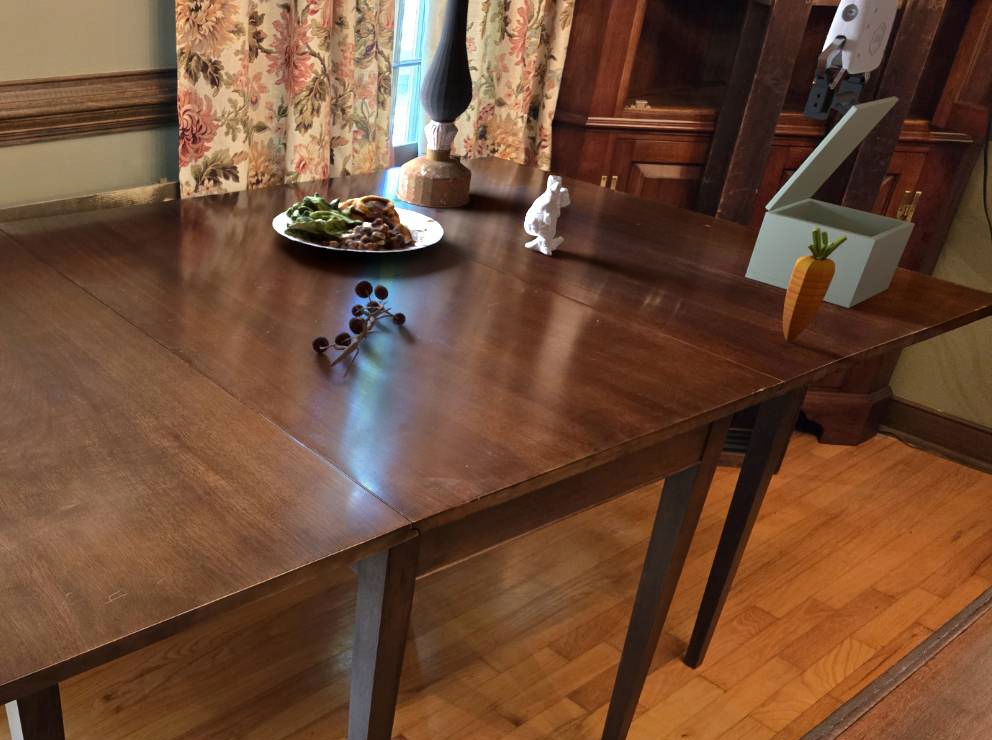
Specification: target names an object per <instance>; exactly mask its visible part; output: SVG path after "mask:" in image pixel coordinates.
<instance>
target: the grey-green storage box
mask: <svg viewBox="0 0 992 740" xmlns="http://www.w3.org/2000/svg"><path fill="white" fill-rule="evenodd" d="M915 225H916V224H915V223H914V222H910V221H907V220H902V219H897V218H893V217H889V216H885V215H881V214H876V213H872V212H868V211H864V210H860V209H855V208H851V207H847V206H842V205H838V204H834V203H830V202H826V201H822V200H818V199H814V198H811V197H809V198H806V199H803V200H800V201H797V202H793V203H790V204H787V205H784V206H781V207H778V208H775V209H772V210H768V211H765V214H764V217H763V221H762V224H761V227H760V229H759V231H758V236H757V238H756V241H755V245H754V248H753V251H752V254H751V257H750V260H749V263H748V266H747V269H746V274H745V276H744V277H745V278H747V279H750V280H754V281H757V282H759V283H764V284H767V285H770V286H773V287H776V288H780V289H783V290H787V289H788V286H789V282H790V279H791V276H792V273H793V270H794V267H795V264H796V262H797V260H798V259H799V258H800V257H802V256H806V255H813V254H812V252H811V251H810V249H809V248H808V245H809V244H812V245H814V243H813V237H812V231H813V230H814V229H815V228H820V231H821V233H822V232H827V235H828V244H830V243H831V242H833V243H834V242H835V240H837V239H838V238H839V237H841V236H842V235H844V236H846V238H847V240H846V241H845V242H843V243H842V244H841V245H840V246H839V247H837V248H836V249H835V250H834V251H833V252H832V253H831V254H830V255H829V256H828V257H827V258H828V259H831V260H832V261H834V263H835V273H834V276H833V279H832V281H831V283H830V286H829V288H828V291H827V293H826V295H825V297H824V299H823V302H827V303H829V304H834V305H836V306H839V307H842V308H846V309H850V308H852V307H854V306H856V305H858V304H860V303H861V302H862V303H863V302H864V301H866V300H869V299H870V298H873V297H874V296H876V295H878V294H881V293H882V292H884V291H887V290H888V289H889V287H890V285H891V282H892V280H893V278H894V276H895V273H896V271H897V268H898V265H899V263H900V261H901V258H902V256H903V253H904V251H905V249H906V246H907V244H908V242H909V239H910V236H911V235H912V232H913V229H914V227H915ZM821 246H822V235H821Z"/></svg>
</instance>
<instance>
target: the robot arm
mask: <svg viewBox="0 0 992 740" xmlns="http://www.w3.org/2000/svg"><path fill="white" fill-rule="evenodd" d="M899 2H900V0H840V3H839V5H838V7H837V9H836V12H835V15H834V17H833V21H832V23H831V26H830V28H829V31H828V33H827V35H826V39H825V42H824V45H823V49H822V51H821V53H820V54H819V56H818V59H817V68H816V69H815V70H814V78H813V80H812V84H811V86H812V87H811V90H810V92H809V95H808V100H807V102H806V105H805V107H804V111H803V116H804V117H805V118H810V119H816V120H821V121H825V120H827V119H828V117H829V114H830V111H831V109H832V108H831V106H832V103H833V100H834V97H835V94H837V91H838V93H842V92H846V91H853V92H854V93H855V95H856V98H855V100H856V101H858V102H859V103H860V104H861V101H862V98H863V96H864V92H865V90H866V86H867V83H868V82H869V80H870V77H871V72H872V71H874V70H876V69H878V68H879V66H880V65H881V62H882V60H883V57H884V54H885V51H886V46H887V44H888V41H889V39H890V35H891V32H892V29H893V26H894V21H895V19H896V15H897V10H898V6H899ZM845 72H846V75H845V76H846V77H845V78H846V79H842V81H841V84H840V87H839V90H838V89H837V88H835V87H836V86H837V84H838V83H839V81H840V79H841V78H842V77H843V75H844V74H845ZM833 74H834V75H833ZM844 106H845V107H846V108H847V109H848V110H850V109H851V108H852V107H853V106H851V105H850V104H848V105H844ZM833 110H834V111H838V110H837V109H836V108H833Z"/></svg>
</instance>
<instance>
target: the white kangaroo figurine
mask: <svg viewBox="0 0 992 740" xmlns="http://www.w3.org/2000/svg"><path fill="white" fill-rule="evenodd" d="M562 180H563V179H562V176H557V175H553V174H550V175H549V176H548V179H547V188H546V191H545V192H544V193H543V194H542V195H541V196H539V197H538V198H537V199H536V200H535V201H534V202H533V204H532V206H531V207H530V208H529V209H528V211H527V213H526V216H525V221H524V229H525V232H526V233H527V234H529V235H531V236H535V237H536V236H537V237H536V239H534V240H532V241H529V242H526V243H525V248H527V249H530V250H534V251H538V252H540V253H543V254H544V255H546V256H552V254H553V253H552V251H556V250H557V249H558V247H559V246H560V245H561V244H562V243H563V242H565V238H564V237H563V236H558V237H555V236H556V233H557V229H556V228H557V222H558V218H560V216H561V208H566V207H569V206H570V204H571V199H570V193H569V188H565V187H563V181H562Z"/></svg>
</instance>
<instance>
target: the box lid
mask: <svg viewBox="0 0 992 740" xmlns="http://www.w3.org/2000/svg"><path fill="white" fill-rule="evenodd" d="M855 98H856V95H855V93H854V92H853V91H846V92H842V93H839V92H836V94H835V97H834V100H833V103H832V106H831V109H834V108H836V109H837V110H836V111H838V112H839V113H840V114H841V115H843V117H842V118H841V119H840V120H839V122H838V123H836V125H835V126H834V127H833V128H832V129H831V130H830V132H829V133H828V134H827V135H826V137H825V138H824V139H823V140H822V141H821V142H820V143H819V145H818V146H817V147H816V148H815V149H814V151H812V153H810V155H809V156H808V157H807V158H806V160H805V161H804V162H803V163H802V164H801V165H800V166H799V168H798V169H797V170H796V171H795V172H794V173H793V174H792V176H791V177H790V178H789V179H788V181H786V182H785V184H784V185H783V186H782V187H781V188H780V190H779V191H778V192H777V193H776V194H775V195H774V196H773V197H772V199H771V200H770V201H769V202H768V203H767V204H766V206H765V209H766V210H768V211H772V210H775V209H778V208H781V207H784V206H787V205H790V204H793V203H796V202H799V201H802V200H805V199H808V198H811V197H813V195H814V194H815V193H816V192H817V191H818V190H819V189H820V188H821V186H823V184H824V183H825V182H826V181H827V180H828V179H829V178H830V177H831V175H832V174H833V173H834V172H835V171H836V170H837V169H838V168H839V167H840V166H841V164H842V163H843V162H844V161H846V159H847V158H848V157H849V156H850V154H851V153H852V152H853V151H854V150H855V149H856V148H857V147H858V146H859V145H860V144H861V142H862V141H863V140H864V139H865V138H866V137H867V136H868V135H869V134H870V133H871V131H872V130H873V129H874V128H875V127H876V126H877V125H878V124H879V123H880V121H882V119H883V118H884V117H885V116H886V115H887V113H888V112H889V111H891V109H892V108H893V107H894V106H895V105H896V104H897V103H898V102H899V100H900V99H899V98H898V97H897V96H896V95H894V96H890V97H884V98H880V99H877V100H872V101H868V102H864V103H861V102H860V103H859V102H858V101H856V100H855ZM848 104H850V105H851V106H853V107H852V108H851V109H850V110H848V109H847V108H846V107H845V106H844V105H848Z"/></svg>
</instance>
